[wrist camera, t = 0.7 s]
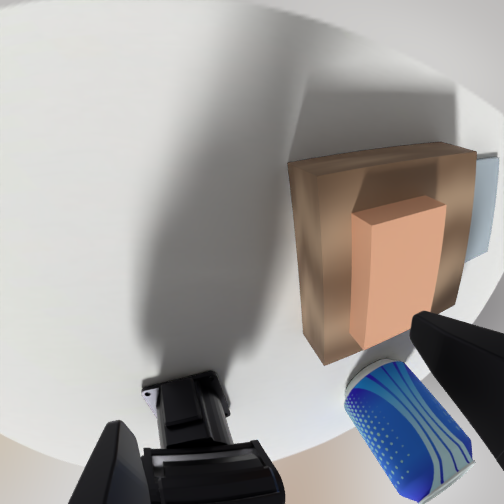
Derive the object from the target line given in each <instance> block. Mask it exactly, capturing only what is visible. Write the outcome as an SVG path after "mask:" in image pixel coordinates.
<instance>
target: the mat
mask: <svg viewBox="0 0 504 504" xmlns="http://www.w3.org/2000/svg"><path fill="white" fill-rule="evenodd" d="M498 171H499V157H491V158H484V159H477V160H476V178H475V190H474V201H473V210H472V218H471V226H470V232H469V239H468V245H467V251H466V256H465V262H467V261H469V260H471V259H473V258H475V257H477V256H479V255H481V254H483V253H485V252H487V251H488V246H489V240H490V235H491V229H492V223H493V216H494V209H495V201H496V193H497V183H498ZM465 262H464V263H465Z"/></svg>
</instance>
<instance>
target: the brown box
mask: <svg viewBox="0 0 504 504" xmlns="http://www.w3.org/2000/svg"><path fill="white" fill-rule="evenodd" d="M476 160H477V152H476V151H473V150H469V149H466V148H462V147H458V146H455V145H451V144H447V143H443V142H433V143H423V144H413V145H404V146H395V147H387V148H379V149H371V150H364V151H357V152H350V153H343V154H336V155H330V156H324V157H318V158H312V159H306V160H300V161H295V162H289V163H287V164H288V172H289V181H290V190H291V199H292V208H293V218H294V228H295V238H296V248H297V259H298V271H299V283H300V296H301V309H302V323H303V334H304V336H305V337H306V339H307V340H308V342H309V344H310V345H311V347H312V348H313V350H314V351H315V353H316V354H317V356H318V357H319V359H320V360H321V362H322V363H323V365H324V366H325V365H328V364H330V363H333V362H335V361H338V360H340V359H343V358H345V357H348V356H350V355H353V354H355V353H357V352H360V351H362V350H363V349H362V348H361V347H360V345H359V344H358V343H357V342H356V341H355V339H354V338H353V337H352V336H351V334H350V333H349V329H350V309H351V278H352V219H351V213H355V212H359V211H363V210H367V209H371V208H375V207H379V206H383V205H387V204H391V203H395V202H399V201H403V200H408V199H412V198H416V197H420V196H424V195H426V196H428V197H431V198H433V199H435V200H437V201H439V202H442V203H444V204H446V205H447V207H446V218H445V227H444V236H443V243H442V251H441V257H440V264H439V270H438V276H437V281H436V287H435V292H434V297H433V302H432V306H431V311H430V312H432V313H435V314H439V313H441V312H443V311H444V310H446V309H448V308H450V307H452V306H453V305H455V302H456V298H457V294H458V290H459V285H460V281H461V276H462V272H463V267H464V262H465V256H466V251H467V245H468V239H469V232H470V226H471V218H472V210H473V201H474V190H475V178H476Z"/></svg>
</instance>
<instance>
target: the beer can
mask: <svg viewBox="0 0 504 504" xmlns="http://www.w3.org/2000/svg"><path fill="white" fill-rule="evenodd" d="M345 398H346V399H345V402H344V408H345V410H346V412H347V413H348V415H349V417H350V418H351V420H352V421H353V423H354V424H355V426H356V428H357V429H358V431H359V432H360V434H361V435H362V437H363V439H364V440H365V442H366V443H367V445H368V446H369V448H370V449H371V451H372V453H373V454H374V456H375V457H376V459H377V460H378V462H379V463H380V465H381V467H382V468H383V470H384V471H385V473H386V474H387V476H388V477H389V479H390V481H391V482H392V484H393V485H394V487H395V488H396V490H397V491H398V493H399V494H400V495H401V496H403V497H406V498H409V499H411V500H414V501H417V502H418V504H425V503H426V502H428V501H430V500H431V499H433V498H434V497H436V496H437V495H439V494H440V493H441V492H443V491H444V490H446V489H447V488H448V487H450V486H451V485H452V484H453V483H455V482H456V481H457V480H458V479H459V478H461V477H462V476H463V475H464V474H465V473H466V472H467V471H468V470H469V469H470V468H471V467H472V466H473V465H474V464H475V463H476V462H475V460H473V459H472V446H471V440H470V438H469V437H468V436H467V435H466V434H465V433H464V431H463V430H462V429H461V428H460V427H459V425H458V424H457V423H456V422H455V421H454V420H453V418H452V417H451V416H450V415H449V414H448V413H447V411H446V410H445V409H444V408H443V407H442V406H441V404H440V403H439V402H438V401H437V400H436V399H435V397H434V396H433V395H432V394H431V393H430V392H429V390H428V389H427V388H426V387H425V386H424V385H423V384H422V382H421V381H420V380H419V379H418V378H417V377H416V376H415V374H414V373H413V372H412V371H411V370H410V369H409V368H408V367H407V365H406V364H405V363H403V362H401V361H393V360H391V359H383V360H379V361H376V362H374V363H372V364H370V365H369V366H367V367H366V368H364V369H363V370H362V371H360V372H359V373H358V374H357V375H356V376H355V377H354V378H353V379H352V380H351V382H350V383H349V385H348V387H347V389H346V392H345Z"/></svg>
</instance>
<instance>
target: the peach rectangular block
mask: <svg viewBox="0 0 504 504" xmlns="http://www.w3.org/2000/svg"><path fill="white" fill-rule="evenodd" d="M446 207H447V205H446V204H444V203H442V202H439V201H437V200H435V199H433V198H431V197H428V196H426V195H424V196H420V197H416V198H412V199H408V200H403V201H399V202H395V203H391V204H387V205H383V206H379V207H375V208H371V209H367V210H363V211H359V212H355V213H351V219H352V278H351V309H350V329H349V333H350V334H351V336H352V337H353V338H354V339H355V341H356V342H357V343H358V344H359V345H360V347H361V348H362V349H363V350H366V349H368V348H370V347H372V346H375V345H377V344H379V343H381V342H383V341H386V340H388V339H390V338H392V337H394V336H396V335H398V334H401V333H403V332H405V331H407V330H409V329H411V322H412V317H413V316H414V315H415V314H417V313H419V312H421V311H428V312H430V311H431V306H432V302H433V297H434V292H435V287H436V281H437V276H438V270H439V264H440V257H441V251H442V243H443V236H444V227H445V218H446Z"/></svg>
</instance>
